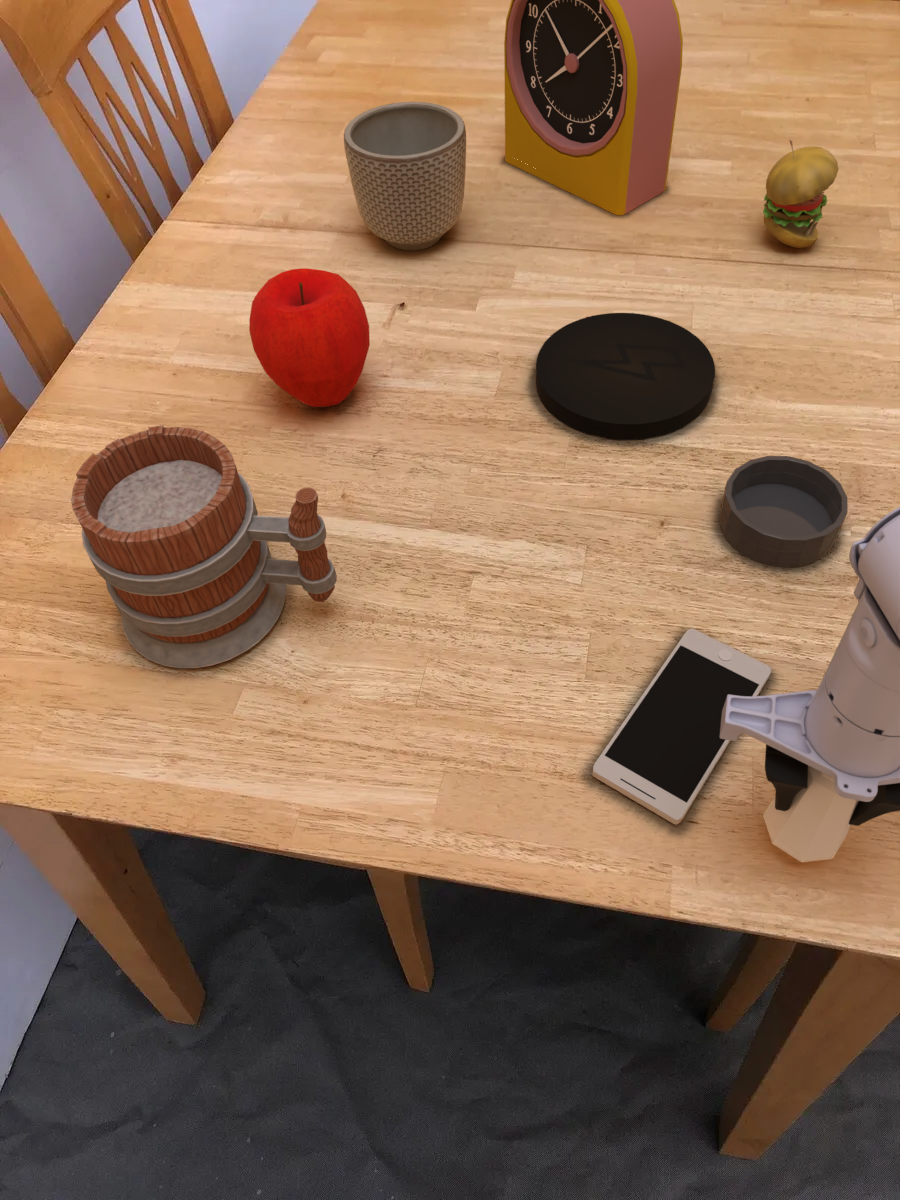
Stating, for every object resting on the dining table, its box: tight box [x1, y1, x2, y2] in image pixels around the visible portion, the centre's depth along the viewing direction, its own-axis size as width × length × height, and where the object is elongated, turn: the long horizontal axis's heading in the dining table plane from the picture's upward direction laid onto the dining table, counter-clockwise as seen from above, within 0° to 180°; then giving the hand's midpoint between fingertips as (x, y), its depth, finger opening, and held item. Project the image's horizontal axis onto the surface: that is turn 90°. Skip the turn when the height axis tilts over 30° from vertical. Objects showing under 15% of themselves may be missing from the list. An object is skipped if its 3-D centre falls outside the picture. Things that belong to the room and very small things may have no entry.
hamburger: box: [762, 139, 839, 249], centre depth 104 cm, size 8×7×12 cm
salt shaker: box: [762, 765, 859, 863], centre depth 58 cm, size 5×5×11 cm
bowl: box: [718, 455, 849, 568], centre depth 80 cm, size 10×10×4 cm
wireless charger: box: [535, 312, 716, 441], centre depth 94 cm, size 18×18×2 cm
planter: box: [343, 101, 467, 252], centre depth 109 cm, size 14×14×13 cm
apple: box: [248, 267, 371, 408], centre depth 91 cm, size 12×12×13 cm
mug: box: [70, 424, 338, 669], centre depth 73 cm, size 14×19×15 cm
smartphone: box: [591, 628, 772, 825], centre depth 69 cm, size 7×16×1 cm, turn 144°
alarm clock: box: [503, 0, 684, 216], centre depth 111 cm, size 21×9×26 cm, turn 42°
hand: (816, 803), depth 60 cm, fingers closed on salt shaker, 4 cm apart
